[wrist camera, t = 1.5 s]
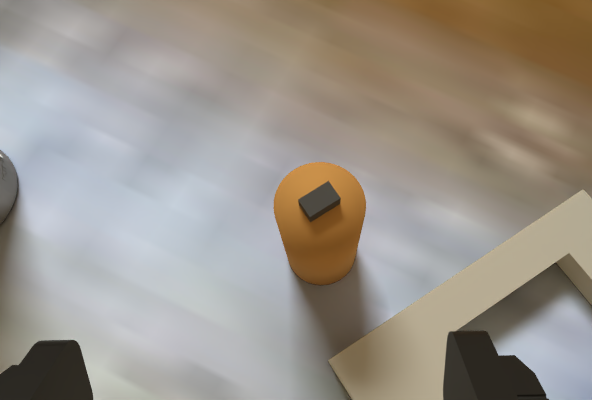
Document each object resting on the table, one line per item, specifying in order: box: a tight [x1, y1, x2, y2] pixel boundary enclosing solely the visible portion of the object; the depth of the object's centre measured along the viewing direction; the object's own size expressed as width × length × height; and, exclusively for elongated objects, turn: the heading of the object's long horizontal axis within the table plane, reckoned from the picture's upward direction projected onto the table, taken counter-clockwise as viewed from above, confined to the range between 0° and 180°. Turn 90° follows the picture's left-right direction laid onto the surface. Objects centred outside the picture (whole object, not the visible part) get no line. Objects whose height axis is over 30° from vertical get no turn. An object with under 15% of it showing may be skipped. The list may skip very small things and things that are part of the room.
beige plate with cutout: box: [328, 189, 592, 400], centre depth 35 cm, size 22×13×4 cm, turn 122°
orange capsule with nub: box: [274, 162, 366, 285], centre depth 34 cm, size 5×5×12 cm
